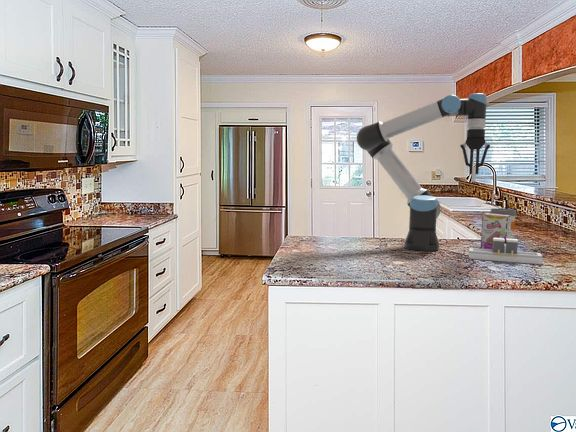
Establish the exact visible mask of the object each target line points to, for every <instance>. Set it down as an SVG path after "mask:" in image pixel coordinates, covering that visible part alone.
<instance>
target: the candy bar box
mask: <svg viewBox="0 0 576 432" xmlns="http://www.w3.org/2000/svg"><path fill="white" fill-rule="evenodd" d="M511 218H512V216H510V215H500V214H490V213H489V212H486V213H482V223H481V235H480V236H481V238H480V248H479V249H490V250H493V238H504V239H505V242H504V244H506V238H508V239H510V231H511Z"/></svg>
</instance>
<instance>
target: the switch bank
mask: <svg viewBox="0 0 576 432" xmlns="http://www.w3.org/2000/svg"><path fill="white" fill-rule="evenodd" d="M468 259H469V260H470V259H471V260H483V261H495V262H507V263H508V262H509V263H519V264H520V263H521V264H533V265H534V264H535V265H543V262H544V258H543V254H541V252H532V251H531V252H530V251H518V250H517V254H513V251H511V253H506V244H504V253H500V250H498V252H492V250H490V249H480V248H475V247H474V248H473V247H469V249H468Z"/></svg>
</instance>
